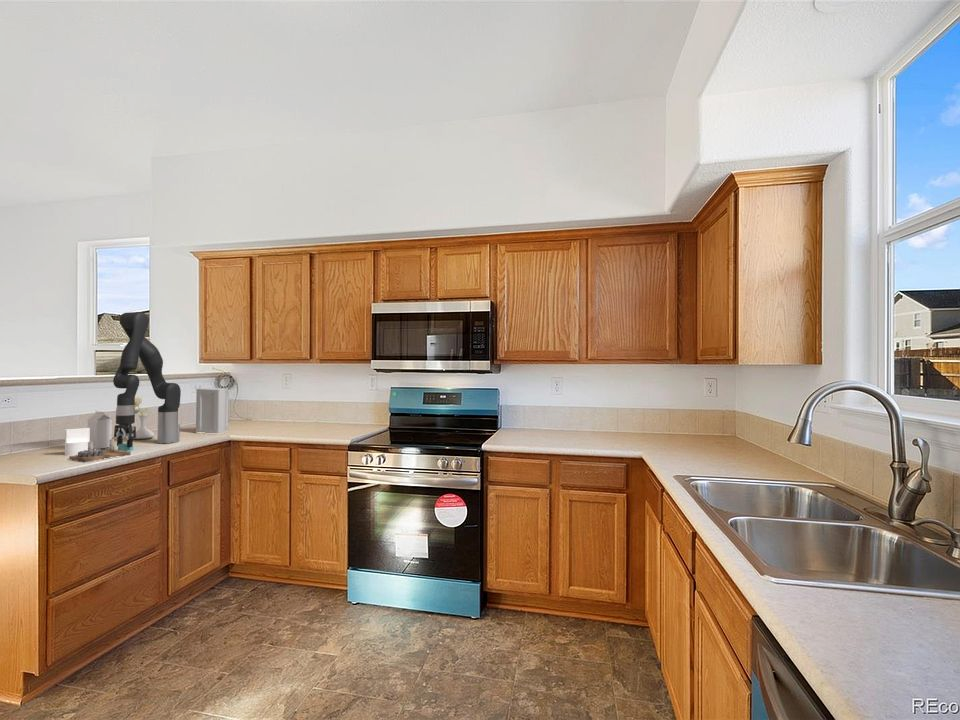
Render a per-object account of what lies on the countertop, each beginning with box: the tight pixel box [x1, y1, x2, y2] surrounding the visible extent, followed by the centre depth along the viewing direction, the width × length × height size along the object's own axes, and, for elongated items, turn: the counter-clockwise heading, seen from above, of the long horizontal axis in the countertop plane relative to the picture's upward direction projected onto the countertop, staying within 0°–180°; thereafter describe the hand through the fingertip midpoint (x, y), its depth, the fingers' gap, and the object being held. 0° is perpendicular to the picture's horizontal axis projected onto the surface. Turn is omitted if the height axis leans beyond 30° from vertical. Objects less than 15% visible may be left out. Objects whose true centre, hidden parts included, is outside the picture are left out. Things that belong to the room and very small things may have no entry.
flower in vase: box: [133, 396, 156, 440], centre depth 262 cm, size 13×11×25 cm
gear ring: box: [117, 442, 134, 452], centre depth 226 cm, size 6×6×4 cm
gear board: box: [68, 438, 131, 463], centre depth 210 cm, size 18×13×8 cm
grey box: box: [195, 387, 230, 433], centre depth 289 cm, size 19×15×28 cm
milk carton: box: [87, 410, 113, 450], centre depth 232 cm, size 7×7×19 cm
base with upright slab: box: [64, 427, 90, 456], centre depth 218 cm, size 9×9×12 cm
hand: (124, 446), depth 226 cm, fingers open, 8 cm apart
